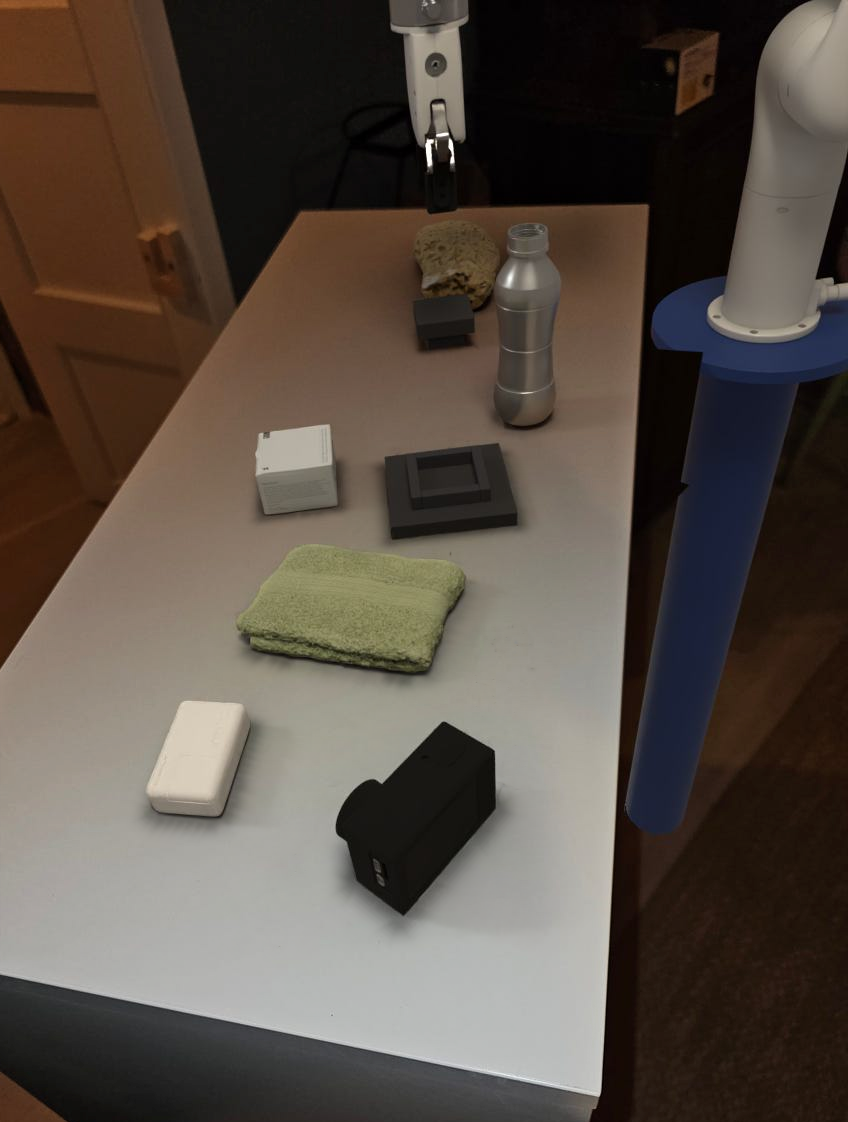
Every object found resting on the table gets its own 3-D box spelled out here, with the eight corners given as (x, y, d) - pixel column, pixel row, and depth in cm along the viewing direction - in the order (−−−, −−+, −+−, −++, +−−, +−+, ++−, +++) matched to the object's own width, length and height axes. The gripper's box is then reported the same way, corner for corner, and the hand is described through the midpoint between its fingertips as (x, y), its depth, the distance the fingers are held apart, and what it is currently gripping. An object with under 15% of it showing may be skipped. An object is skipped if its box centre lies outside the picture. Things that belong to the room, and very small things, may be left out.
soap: (189, 720, 70) (179, 696, 68) (254, 723, 69) (246, 699, 67) (152, 815, 64) (140, 792, 62) (222, 820, 63) (213, 797, 60)
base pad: (499, 454, 91) (498, 430, 88) (517, 525, 82) (517, 499, 80) (385, 468, 91) (383, 444, 89) (392, 539, 83) (389, 514, 81)
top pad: (468, 322, 112) (467, 292, 109) (475, 348, 107) (474, 317, 104) (415, 329, 112) (412, 300, 110) (419, 355, 107) (417, 325, 105)
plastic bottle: (493, 403, 98) (491, 220, 84) (554, 400, 97) (562, 214, 82) (493, 434, 93) (490, 246, 79) (556, 432, 92) (565, 241, 78)
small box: (339, 507, 87) (332, 464, 84) (263, 516, 88) (253, 475, 84) (337, 463, 93) (330, 422, 89) (266, 472, 93) (256, 431, 90)
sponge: (499, 320, 114) (511, 230, 124) (486, 269, 108) (499, 178, 118) (406, 337, 119) (424, 249, 129) (388, 289, 113) (409, 200, 123)
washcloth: (293, 554, 83) (287, 528, 81) (471, 582, 77) (470, 554, 75) (233, 650, 75) (225, 624, 72) (427, 689, 69) (424, 662, 67)
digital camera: (436, 770, 64) (430, 709, 59) (497, 807, 61) (495, 747, 56) (342, 870, 59) (326, 814, 54) (403, 916, 56) (393, 861, 51)
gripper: (480, 19, 76) (482, 220, 88) (456, -16, 88) (461, 166, 101) (396, 30, 77) (410, 229, 89) (383, -5, 89) (397, 174, 101)
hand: (437, 195), depth 95 cm, fingers open, 9 cm apart
